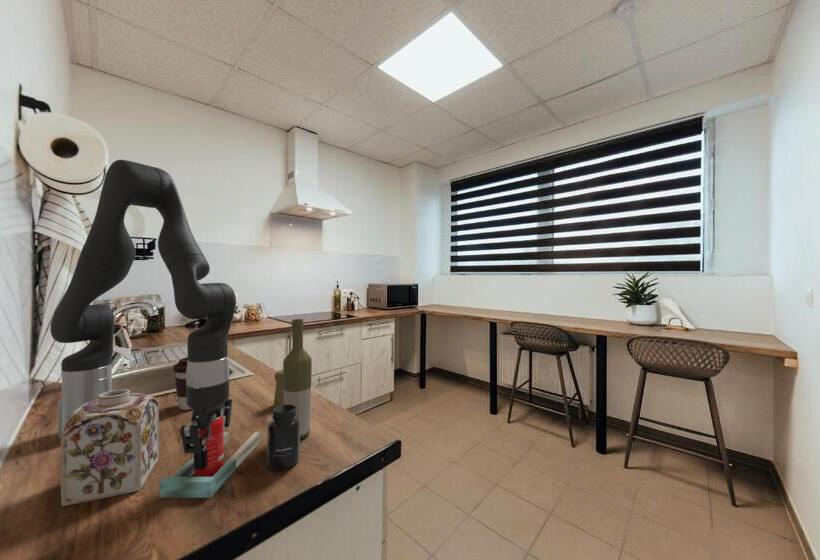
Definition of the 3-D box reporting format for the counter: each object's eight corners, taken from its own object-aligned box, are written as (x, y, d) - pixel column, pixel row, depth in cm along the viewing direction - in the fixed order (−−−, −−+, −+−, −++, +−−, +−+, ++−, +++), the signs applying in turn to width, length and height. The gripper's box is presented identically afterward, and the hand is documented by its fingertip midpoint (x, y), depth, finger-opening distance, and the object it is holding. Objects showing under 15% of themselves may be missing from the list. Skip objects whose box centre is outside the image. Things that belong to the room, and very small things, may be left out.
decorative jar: (58, 509, 57) (57, 408, 57) (91, 471, 68) (90, 386, 67) (142, 491, 62) (141, 398, 61) (161, 459, 72) (160, 379, 72)
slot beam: (159, 497, 60) (159, 481, 60) (223, 439, 81) (223, 427, 81) (210, 497, 60) (210, 481, 60) (261, 439, 81) (261, 427, 81)
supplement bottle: (280, 475, 67) (280, 418, 67) (260, 464, 71) (260, 410, 70) (306, 459, 73) (306, 406, 73) (287, 450, 77) (287, 400, 76)
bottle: (300, 425, 89) (300, 317, 88) (317, 433, 85) (317, 319, 84) (277, 436, 83) (277, 320, 82) (294, 444, 79) (294, 322, 78)
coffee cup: (217, 403, 103) (217, 357, 103) (182, 415, 95) (182, 364, 94) (202, 397, 108) (201, 352, 108) (167, 407, 100) (167, 359, 100)
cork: (268, 406, 101) (268, 372, 101) (283, 400, 107) (283, 366, 106) (283, 410, 99) (283, 374, 99) (297, 402, 104) (297, 369, 104)
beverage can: (210, 483, 64) (209, 424, 64) (188, 479, 65) (187, 421, 65) (229, 467, 69) (228, 412, 69) (208, 464, 70) (208, 410, 70)
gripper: (211, 368, 74) (212, 441, 74) (164, 392, 60) (165, 482, 60) (244, 368, 74) (244, 441, 75) (204, 392, 60) (206, 482, 60)
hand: (209, 459), depth 67 cm, fingers closed on beverage can, 5 cm apart
